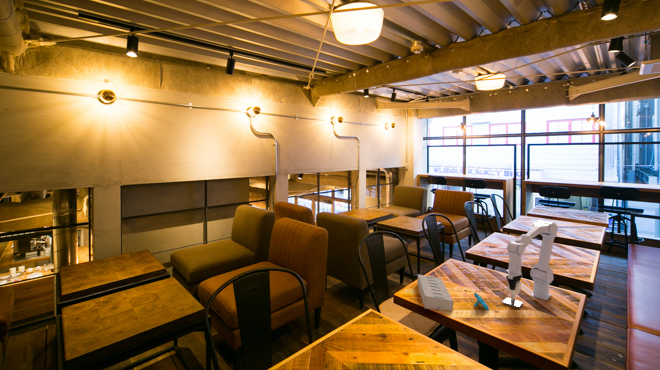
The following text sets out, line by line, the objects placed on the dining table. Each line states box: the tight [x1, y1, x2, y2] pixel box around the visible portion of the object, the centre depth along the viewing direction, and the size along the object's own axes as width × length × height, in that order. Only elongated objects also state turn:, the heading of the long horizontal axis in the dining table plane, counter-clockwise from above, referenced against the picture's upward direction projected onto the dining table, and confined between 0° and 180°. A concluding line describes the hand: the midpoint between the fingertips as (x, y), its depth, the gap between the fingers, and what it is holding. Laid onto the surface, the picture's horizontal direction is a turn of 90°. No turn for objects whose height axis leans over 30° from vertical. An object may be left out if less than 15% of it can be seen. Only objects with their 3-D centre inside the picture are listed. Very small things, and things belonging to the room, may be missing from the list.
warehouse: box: [416, 273, 454, 311], centre depth 173 cm, size 30×14×8 cm, turn 171°
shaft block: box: [502, 293, 524, 310], centre depth 164 cm, size 8×8×6 cm
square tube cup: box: [506, 281, 522, 295], centre depth 163 cm, size 5×5×6 cm
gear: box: [473, 292, 490, 311], centre depth 161 cm, size 11×6×10 cm
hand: (513, 288), depth 163 cm, fingers closed on square tube cup, 5 cm apart
